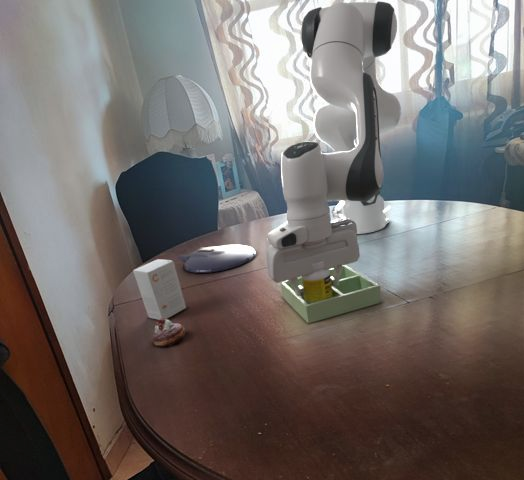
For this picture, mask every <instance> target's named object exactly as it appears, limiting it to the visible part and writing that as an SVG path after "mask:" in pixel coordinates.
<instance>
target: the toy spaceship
mask: <svg viewBox="0 0 524 480" xmlns="http://www.w3.org/2000/svg"><path fill="white" fill-rule="evenodd" d="M256 255H257V251H256V249H255V248H253V247H252V246H249V245H245V244H224V245H219V246H218V245H217V246H208V247H204V246H203V247H198V249H197V250H195V251H193V252H191V253H189V254H185V255H184V254H183V255H178V256H177V259H178V260H181V261H184V264H183V269H184V270H185V271H187V272H188V273H189V272H190V273H196V274H208V273H215V272H221V271H226V270H229V269H233V268H237V267H240V266H242V265H244V264H246V263H248V262H250V261H251V260H253V259H254V257H255V256H256Z"/></svg>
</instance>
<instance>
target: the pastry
mask: <svg viewBox="0 0 524 480" xmlns="http://www.w3.org/2000/svg"><path fill="white" fill-rule="evenodd" d="M185 335H186V330H185V326H183V325H182V324H180V323H172V321H171V320H170V319H165V318H164V317H162V318H161V319H160V320H157V322H156V323H155V326H154V334H153V335H152V341H153V345H154V346H156V347H170V346H173V345H175V344H177V343H178V342H180V341H182V340H183V338H184V336H185Z"/></svg>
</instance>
